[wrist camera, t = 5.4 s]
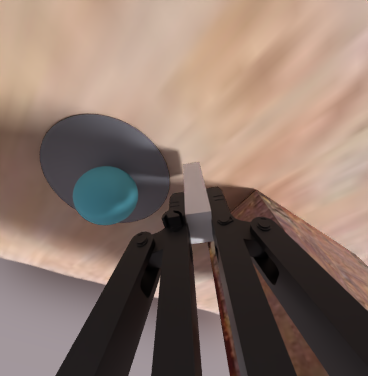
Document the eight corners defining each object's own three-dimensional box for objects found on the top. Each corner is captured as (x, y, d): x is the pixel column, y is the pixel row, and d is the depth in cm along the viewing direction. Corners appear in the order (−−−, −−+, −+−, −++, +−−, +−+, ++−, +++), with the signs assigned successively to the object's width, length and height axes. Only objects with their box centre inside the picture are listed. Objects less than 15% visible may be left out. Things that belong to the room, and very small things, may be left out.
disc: (8, 127, 14) (6, 128, 14) (151, 101, 13) (151, 101, 13) (83, 227, 21) (82, 228, 21) (178, 214, 21) (178, 215, 20)
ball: (41, 186, 12) (105, 186, 11) (90, 158, 17) (138, 155, 15) (76, 236, 15) (129, 240, 14) (109, 200, 19) (151, 201, 18)
